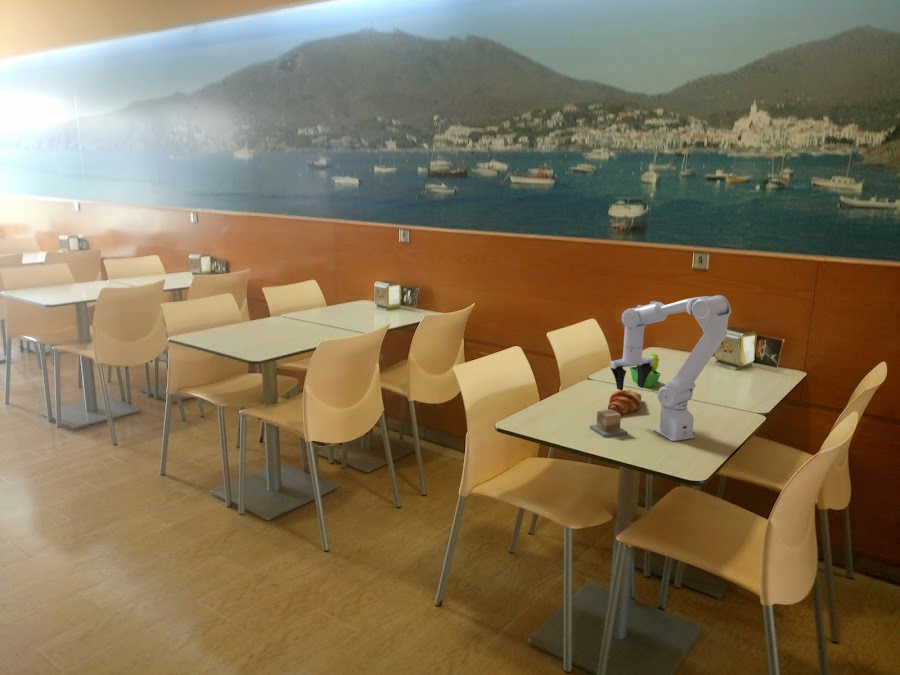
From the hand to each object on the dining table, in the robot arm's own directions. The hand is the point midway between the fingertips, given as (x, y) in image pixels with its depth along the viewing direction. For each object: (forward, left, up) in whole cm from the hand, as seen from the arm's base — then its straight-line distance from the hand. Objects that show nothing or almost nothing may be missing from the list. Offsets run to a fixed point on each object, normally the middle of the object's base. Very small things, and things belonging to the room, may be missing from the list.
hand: (630, 388), depth 214 cm
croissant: (+10, -6, -11) cm, 15 cm away
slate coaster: (-7, +11, -10) cm, 17 cm away
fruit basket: (+31, -29, -11) cm, 44 cm away
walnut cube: (-7, +11, -10) cm, 16 cm away
